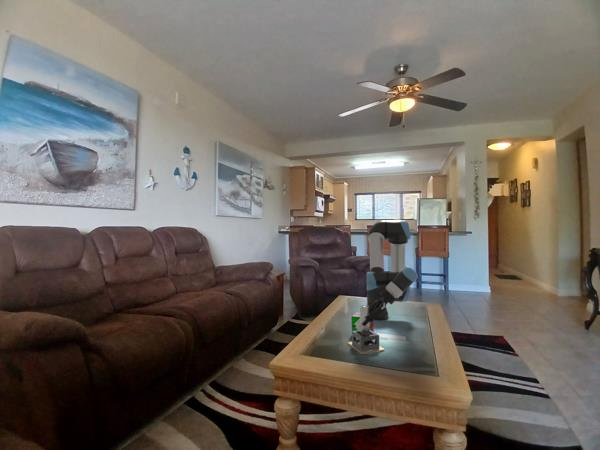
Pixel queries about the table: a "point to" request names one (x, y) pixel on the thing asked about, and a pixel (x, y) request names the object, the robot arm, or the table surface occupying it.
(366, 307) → the tube
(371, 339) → the collar stand
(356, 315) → the puzzle cube
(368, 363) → the table surface
